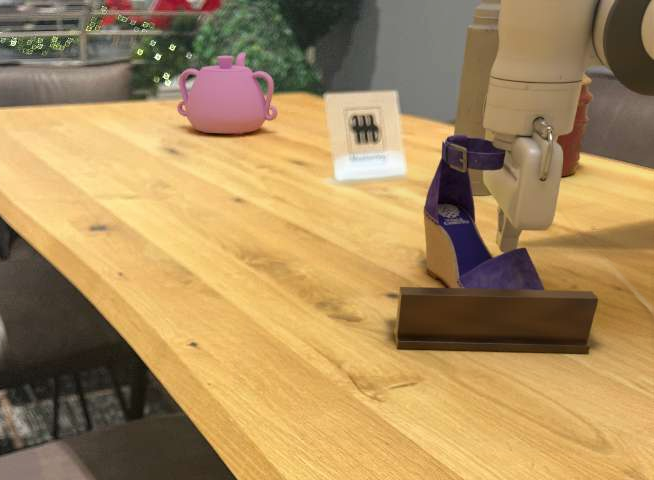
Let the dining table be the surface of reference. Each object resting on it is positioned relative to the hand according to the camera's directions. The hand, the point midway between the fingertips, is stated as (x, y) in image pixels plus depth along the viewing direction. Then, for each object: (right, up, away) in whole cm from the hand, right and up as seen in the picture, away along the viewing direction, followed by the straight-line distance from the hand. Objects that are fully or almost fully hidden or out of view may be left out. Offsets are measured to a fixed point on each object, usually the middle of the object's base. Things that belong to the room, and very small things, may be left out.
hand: (505, 249), depth 84 cm
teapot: (-36, +52, +80) cm, 103 cm away
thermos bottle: (+6, +22, +38) cm, 45 cm away
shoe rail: (-5, -13, -11) cm, 17 cm away
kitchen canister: (+21, +30, +50) cm, 62 cm away
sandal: (-3, -5, 0) cm, 6 cm away
